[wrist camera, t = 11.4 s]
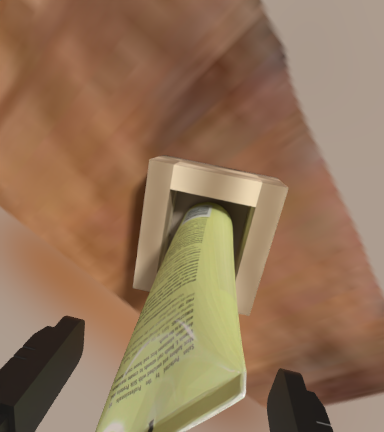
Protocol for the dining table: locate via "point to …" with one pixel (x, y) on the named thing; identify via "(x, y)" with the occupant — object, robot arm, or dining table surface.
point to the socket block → (215, 193)
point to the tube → (183, 336)
